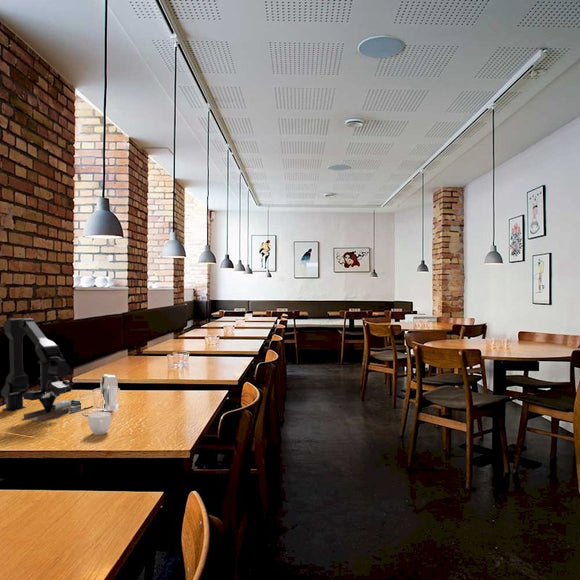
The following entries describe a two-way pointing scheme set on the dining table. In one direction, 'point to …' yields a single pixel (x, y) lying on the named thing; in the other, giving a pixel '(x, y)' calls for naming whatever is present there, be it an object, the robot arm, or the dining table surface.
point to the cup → (99, 422)
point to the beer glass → (109, 391)
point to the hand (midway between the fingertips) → (48, 412)
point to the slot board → (44, 416)
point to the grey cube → (56, 406)
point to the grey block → (66, 404)
